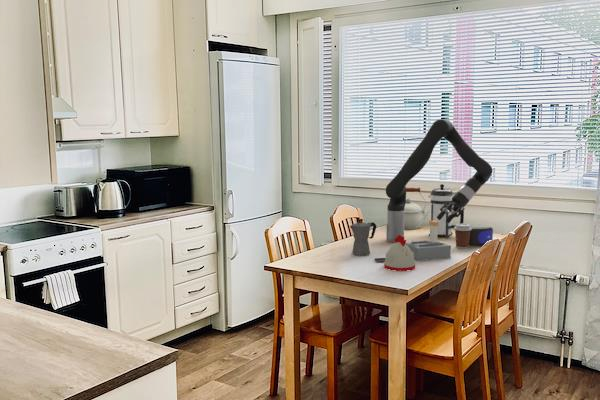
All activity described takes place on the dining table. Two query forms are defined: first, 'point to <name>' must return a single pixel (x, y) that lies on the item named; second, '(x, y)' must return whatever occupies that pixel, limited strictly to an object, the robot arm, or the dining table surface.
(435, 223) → the breaker slider
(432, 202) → the coffee press
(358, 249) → the coffeepot
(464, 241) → the coffee cup
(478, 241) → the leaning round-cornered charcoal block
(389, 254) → the cream and red dome
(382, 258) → the cords
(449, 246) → the box
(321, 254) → the dining table surface
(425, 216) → the kettle
